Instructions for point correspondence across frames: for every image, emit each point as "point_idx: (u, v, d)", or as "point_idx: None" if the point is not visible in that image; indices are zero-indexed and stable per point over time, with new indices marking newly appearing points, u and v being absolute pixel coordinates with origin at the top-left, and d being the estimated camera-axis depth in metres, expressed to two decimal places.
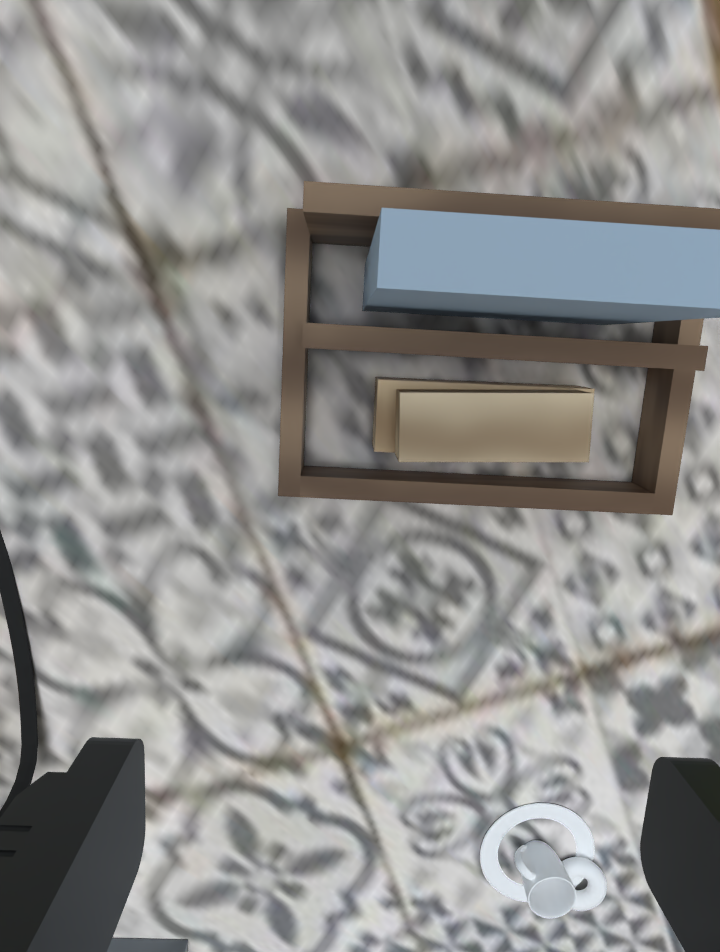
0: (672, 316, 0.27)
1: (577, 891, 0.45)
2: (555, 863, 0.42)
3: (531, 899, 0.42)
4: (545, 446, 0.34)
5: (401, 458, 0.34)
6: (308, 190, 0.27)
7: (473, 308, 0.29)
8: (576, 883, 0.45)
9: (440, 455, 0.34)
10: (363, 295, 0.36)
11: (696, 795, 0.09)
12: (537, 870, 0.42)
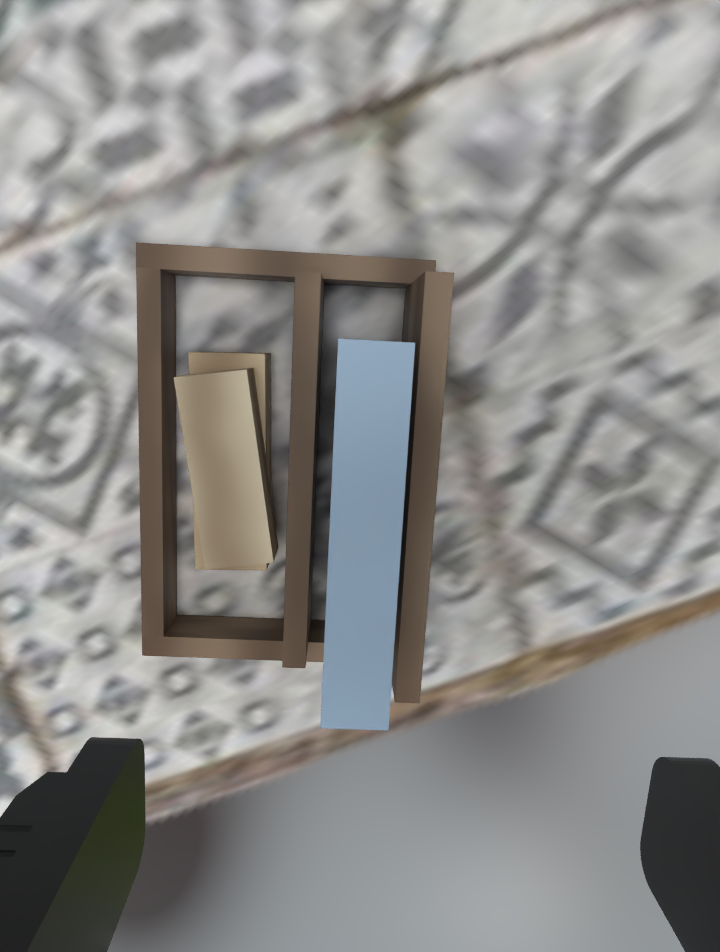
0: None
1: None
2: None
3: None
4: (213, 525, 0.33)
5: (177, 379, 0.32)
6: (445, 277, 0.27)
7: None
8: None
9: (187, 420, 0.32)
10: None
11: (696, 795, 0.09)
12: None
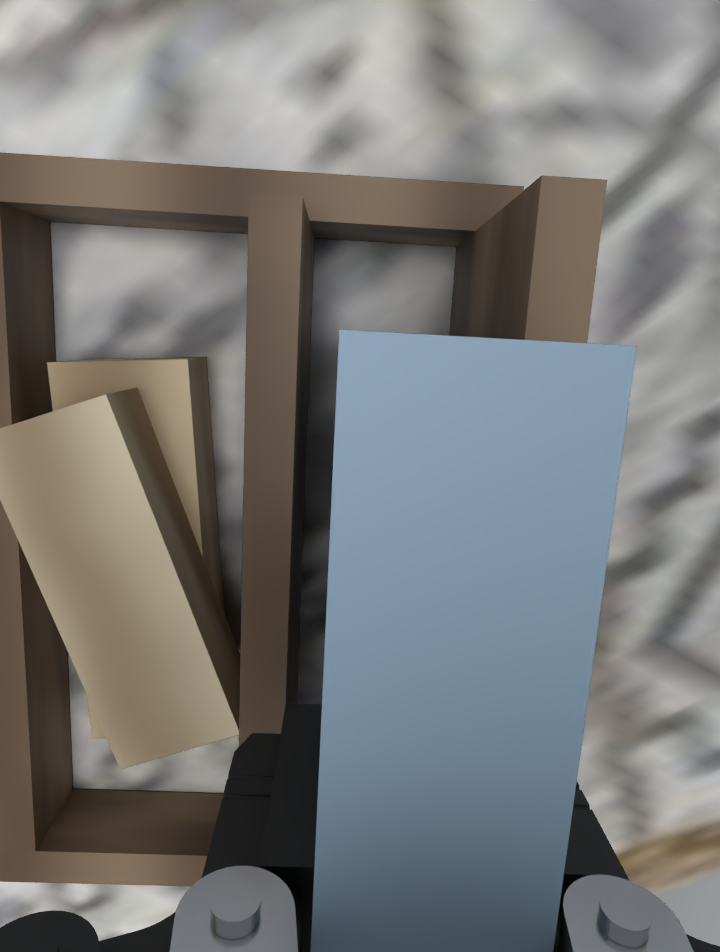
0: None
1: None
2: None
3: None
4: (116, 690, 0.18)
5: None
6: (586, 190, 0.12)
7: None
8: None
9: (19, 512, 0.17)
10: None
11: None
12: None
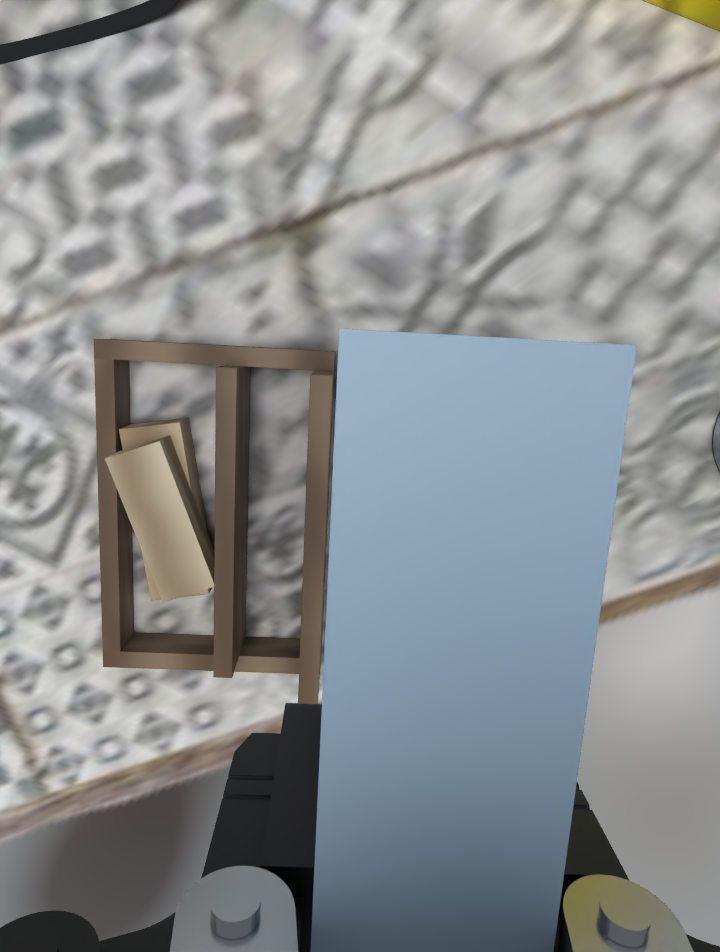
0: None
1: None
2: None
3: None
4: (161, 566, 0.42)
5: (108, 459, 0.40)
6: (325, 379, 0.36)
7: None
8: None
9: (123, 489, 0.40)
10: None
11: None
12: None
